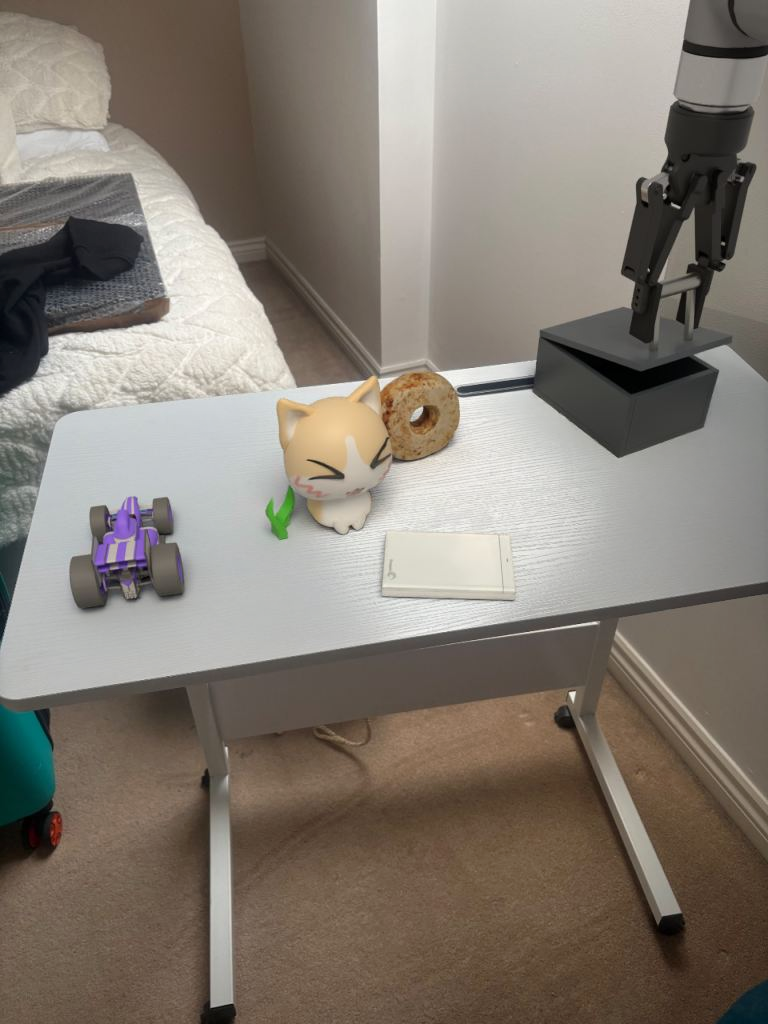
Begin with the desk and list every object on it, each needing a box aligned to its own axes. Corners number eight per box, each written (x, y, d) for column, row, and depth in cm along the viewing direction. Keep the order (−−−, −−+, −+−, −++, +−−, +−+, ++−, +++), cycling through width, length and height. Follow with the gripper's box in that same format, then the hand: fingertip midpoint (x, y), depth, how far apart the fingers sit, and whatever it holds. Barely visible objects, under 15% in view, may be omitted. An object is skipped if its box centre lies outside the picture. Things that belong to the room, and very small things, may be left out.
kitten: (285, 567, 81) (270, 440, 72) (253, 509, 88) (236, 386, 79) (421, 524, 86) (424, 400, 77) (380, 472, 93) (378, 352, 84)
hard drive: (381, 586, 77) (516, 589, 76) (385, 528, 83) (510, 531, 82) (381, 598, 78) (514, 602, 77) (386, 540, 84) (509, 543, 84)
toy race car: (182, 505, 89) (171, 455, 85) (185, 603, 78) (173, 551, 73) (90, 517, 87) (75, 467, 83) (79, 619, 76) (61, 567, 72)
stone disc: (383, 473, 93) (382, 396, 87) (369, 456, 95) (367, 380, 89) (463, 449, 96) (468, 374, 90) (448, 433, 99) (452, 359, 93)
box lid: (732, 342, 92) (739, 268, 88) (640, 371, 87) (643, 294, 83) (623, 312, 106) (625, 247, 102) (539, 336, 101) (538, 269, 97)
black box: (703, 427, 99) (719, 370, 94) (618, 458, 95) (630, 399, 90) (612, 366, 111) (622, 312, 106) (532, 391, 106) (538, 336, 101)
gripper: (756, 82, 83) (703, 299, 97) (605, 107, 76) (573, 336, 91) (818, 98, 78) (752, 325, 92) (663, 126, 71) (618, 366, 85)
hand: (663, 330), depth 91 cm, fingers closed on box lid, 6 cm apart
